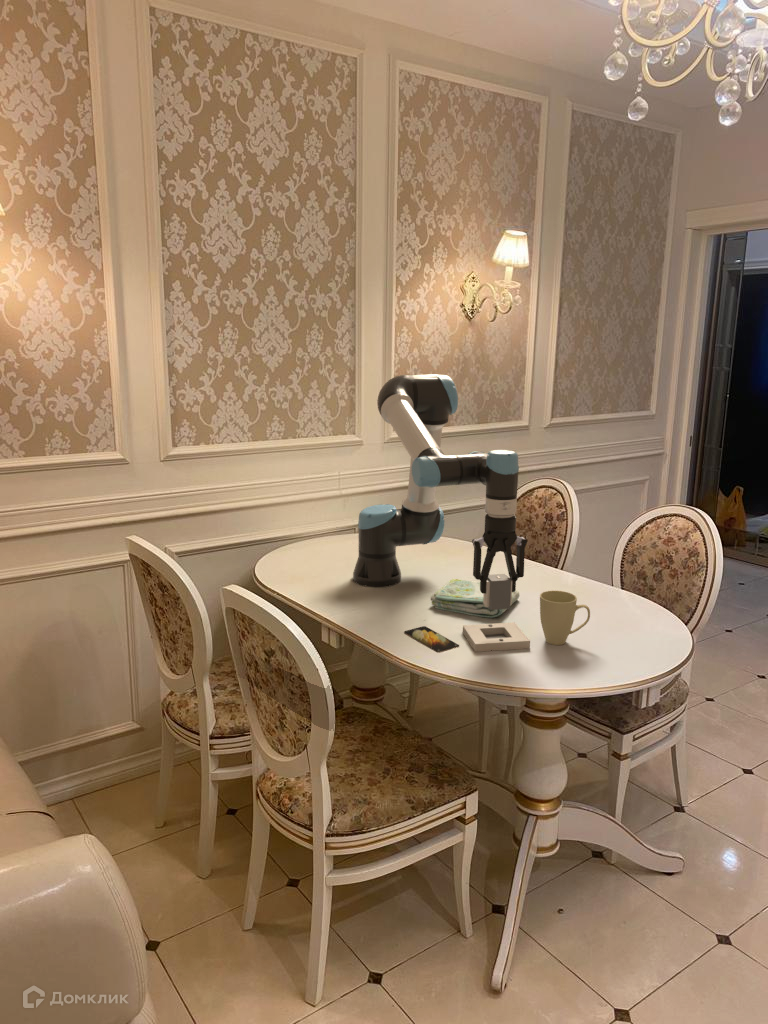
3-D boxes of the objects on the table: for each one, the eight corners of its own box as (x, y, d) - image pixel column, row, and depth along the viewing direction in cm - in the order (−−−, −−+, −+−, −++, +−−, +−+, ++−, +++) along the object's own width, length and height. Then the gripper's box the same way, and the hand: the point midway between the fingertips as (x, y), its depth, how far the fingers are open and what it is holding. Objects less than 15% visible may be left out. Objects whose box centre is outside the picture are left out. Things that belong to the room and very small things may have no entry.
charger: (484, 603, 189) (485, 574, 187) (503, 602, 189) (505, 573, 188) (490, 609, 184) (491, 580, 182) (510, 608, 185) (511, 579, 183)
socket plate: (462, 632, 194) (462, 624, 193) (514, 629, 196) (514, 621, 195) (475, 651, 182) (475, 643, 182) (529, 648, 184) (530, 640, 184)
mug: (553, 652, 182) (556, 606, 179) (530, 637, 191) (532, 593, 188) (589, 645, 186) (593, 600, 183) (565, 630, 195) (568, 587, 192)
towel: (452, 589, 227) (452, 573, 226) (519, 601, 218) (520, 584, 217) (428, 609, 211) (428, 592, 210) (500, 622, 202) (501, 604, 201)
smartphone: (438, 652, 182) (402, 631, 194) (438, 654, 182) (402, 633, 194) (460, 645, 185) (424, 625, 198) (460, 648, 186) (424, 627, 198)
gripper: (468, 519, 176) (466, 611, 182) (541, 516, 179) (536, 607, 184) (460, 512, 184) (458, 601, 189) (530, 509, 186) (526, 597, 192)
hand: (497, 604), depth 187 cm, fingers closed on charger, 5 cm apart
